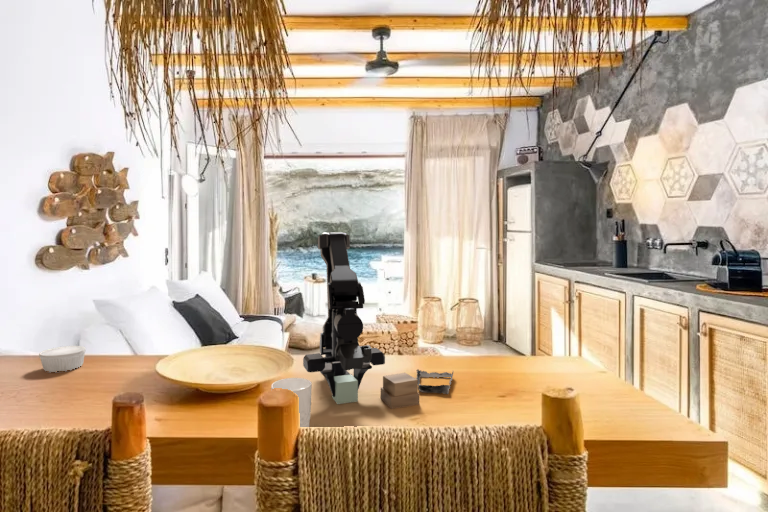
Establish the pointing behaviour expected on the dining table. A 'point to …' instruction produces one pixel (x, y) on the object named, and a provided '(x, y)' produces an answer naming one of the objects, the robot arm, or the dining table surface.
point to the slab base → (399, 399)
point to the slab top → (400, 384)
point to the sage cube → (345, 389)
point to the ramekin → (62, 358)
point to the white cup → (299, 395)
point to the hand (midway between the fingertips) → (344, 394)
